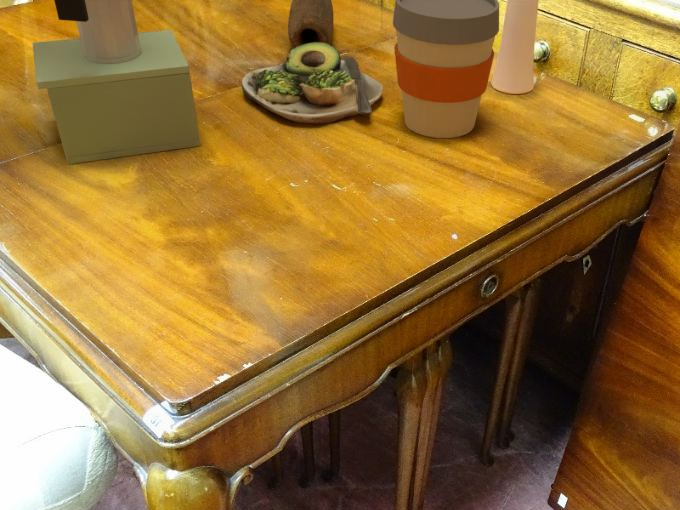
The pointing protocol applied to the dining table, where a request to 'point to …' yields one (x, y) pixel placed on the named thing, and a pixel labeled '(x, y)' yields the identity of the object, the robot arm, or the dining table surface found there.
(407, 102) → the reusable coffee cup
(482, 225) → the dining table surface
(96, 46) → the pinkish-brown cup
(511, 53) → the cosmetic bottle
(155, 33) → the box lid
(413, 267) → the dining table surface
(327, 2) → the stone weight
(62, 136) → the storage box
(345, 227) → the dining table surface
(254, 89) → the avocado toast plate
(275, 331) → the dining table surface
